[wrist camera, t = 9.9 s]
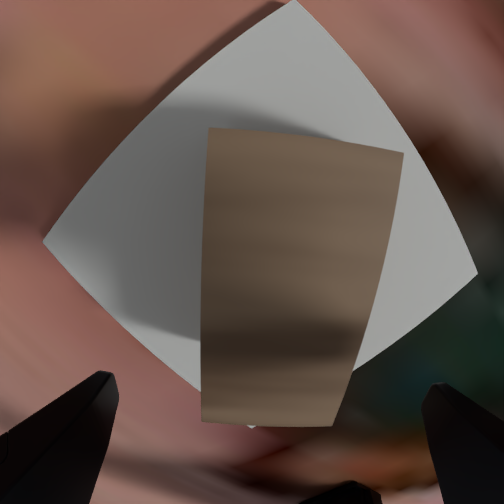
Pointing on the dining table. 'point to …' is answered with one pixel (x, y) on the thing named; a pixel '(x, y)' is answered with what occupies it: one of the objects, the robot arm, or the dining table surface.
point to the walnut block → (288, 272)
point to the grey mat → (193, 185)
